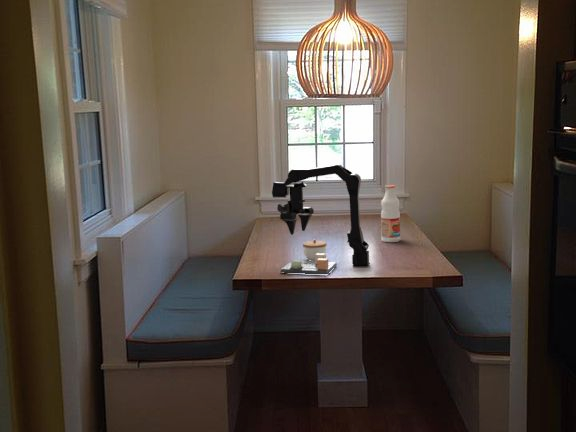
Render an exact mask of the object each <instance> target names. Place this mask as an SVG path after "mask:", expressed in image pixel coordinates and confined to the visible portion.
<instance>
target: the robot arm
mask: <svg viewBox="0 0 576 432" xmlns="http://www.w3.org/2000/svg"><path fill="white" fill-rule="evenodd" d="M330 175H336V176H337V177H339V179H341V180H342V181H344V182H345V186H346V189H347V193H348V196H349V197H348V198H349V210H350V213H349V214H350V230H348V231H347V232H346V236H347V242H346V243H348V245H349V247H350V249H352V250H353V254H352V256H351V259H352V260H351V261H352V263H351V264H352V267H354V266H368V265H369V264H371V262H370V250H368V249H369V246H370V245H369V244H368V242H366V241H365V238H364V233H363V231H362V227H361V217H360V216H361V215H360V196H359V195H360V190H361V182H362V178H361V176H360V175H359V174H358V173H353V172H352V171H351V170H349V169H347V168H345V167H344V166H343V165H341V164H340V163H336V164H333V165H326V166H319V167H314V168H313V167H312V168H305V167H302V168H301V167H296V168H293V169H291V170H289V172H287V178H286V179H285V181H284V182H278V181H274V182H273V183H272V190H271V195H272V198H274V199H275V198H279V199H280V198H287V197H288V196H289V199H288V200H287V203H285V204H284V203H279V204H277V211H278V212H279V213H280V214H279V220H281V221H282V222H284V223H286V225H287V228H288V231H289V233H290V235H291V236H292V235H294V233H295V229H296V223H297V220H298V219H297V216H298V217H299V218H300V225H301V226H300V227H301V231H302V232H305V230H306V229H307V226H308V224H309V222H310V220H311V218H312V216H313V214H314V212H315V211H314V208H313V207H312V206H304V203H305V202H306V199H304V194H303V193H304V191H303V188H307V187H308V184H307V183H305V181H304V180H307V179H310V178H317V177H322V176H323V177H324V176H330ZM292 184H293V185H292ZM369 266H370V265H369ZM369 266H368V267H369Z"/></svg>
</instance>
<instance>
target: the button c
mask: <svg viewBox="0 0 576 432" xmlns="http://www.w3.org/2000/svg"><path fill="white" fill-rule="evenodd" d="M302 261H303V260H301V259H292V260H291V261H290V262H291V268H292V269H301V268H302Z"/></svg>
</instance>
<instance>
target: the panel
mask: <svg viewBox="0 0 576 432" xmlns="http://www.w3.org/2000/svg"><path fill="white" fill-rule="evenodd" d="M301 261H302V268H301V269H292V268H291V261H290V262H288V263H287V264H285V265H284V266H283V267H282V268H280V273H281V272H284V273H305V274H328V273H329V272H330V271H331V270H332V269H333V268H335V267H336V266H338V265H337V261H328V269H327V270H322V269H317V264H315V261H309V260H301ZM336 268H337V267H336ZM336 268H335V269H336ZM330 273H331V272H330ZM330 273H329V274H330ZM329 274H328V275H329Z"/></svg>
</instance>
